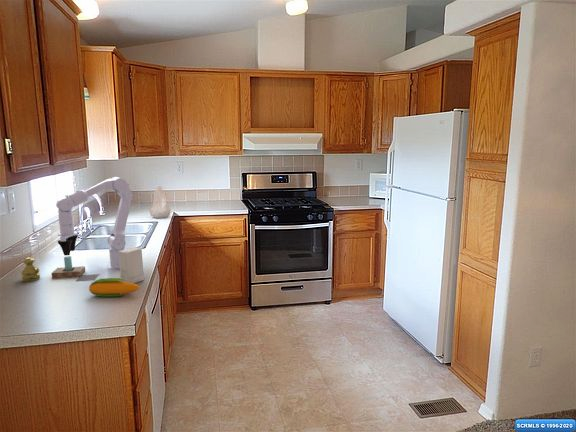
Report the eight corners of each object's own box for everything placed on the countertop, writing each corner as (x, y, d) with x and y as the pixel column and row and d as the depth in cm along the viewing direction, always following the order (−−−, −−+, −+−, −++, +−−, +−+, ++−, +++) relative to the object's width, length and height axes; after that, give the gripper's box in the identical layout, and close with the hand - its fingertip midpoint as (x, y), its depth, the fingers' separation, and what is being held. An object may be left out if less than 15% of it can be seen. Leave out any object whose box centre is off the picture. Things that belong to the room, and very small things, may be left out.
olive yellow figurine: (21, 283, 188) (18, 261, 186) (21, 278, 194) (18, 257, 192) (40, 280, 192) (38, 258, 190) (40, 275, 198) (37, 254, 196)
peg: (74, 274, 199) (72, 256, 198) (71, 276, 196) (69, 257, 195) (67, 274, 199) (65, 256, 198) (64, 277, 196) (62, 258, 195)
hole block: (85, 272, 203) (84, 266, 202) (80, 277, 195) (80, 271, 194) (58, 273, 201) (57, 267, 200) (52, 279, 193) (51, 273, 192)
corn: (92, 274, 175) (141, 274, 176) (94, 292, 177) (143, 291, 178) (84, 282, 168) (136, 281, 169) (87, 299, 170) (138, 299, 171)
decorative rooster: (150, 216, 346) (148, 185, 342) (170, 214, 351) (168, 184, 346) (149, 221, 323) (147, 189, 318) (171, 220, 327) (169, 188, 323)
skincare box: (136, 277, 195) (134, 246, 192) (144, 280, 191) (142, 248, 189) (120, 283, 188) (117, 250, 185) (128, 285, 185) (125, 252, 182)
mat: (99, 274, 199) (99, 273, 199) (94, 281, 191) (94, 280, 190) (81, 275, 198) (81, 275, 198) (75, 282, 189) (75, 281, 189)
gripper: (62, 221, 202) (65, 249, 204) (51, 227, 188) (55, 257, 190) (78, 220, 203) (80, 248, 206) (68, 227, 189) (72, 256, 192)
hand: (69, 252), depth 198 cm, fingers open, 7 cm apart
